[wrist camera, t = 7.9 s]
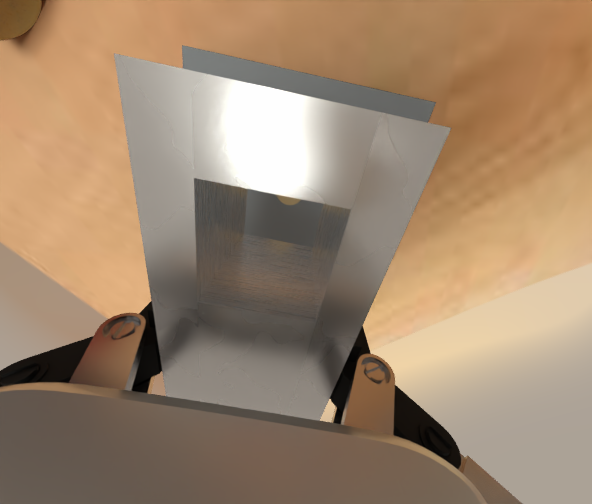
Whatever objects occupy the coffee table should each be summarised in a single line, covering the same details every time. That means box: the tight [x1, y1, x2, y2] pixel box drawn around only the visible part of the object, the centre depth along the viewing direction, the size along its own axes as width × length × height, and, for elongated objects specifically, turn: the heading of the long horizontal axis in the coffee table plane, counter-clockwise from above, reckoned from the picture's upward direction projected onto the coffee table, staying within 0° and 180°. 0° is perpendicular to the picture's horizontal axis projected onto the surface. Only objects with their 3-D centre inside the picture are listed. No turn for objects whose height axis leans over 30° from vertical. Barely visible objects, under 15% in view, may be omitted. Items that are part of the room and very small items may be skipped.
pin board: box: [182, 45, 436, 247], centre depth 18 cm, size 16×22×5 cm
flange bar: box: [114, 54, 451, 421], centre depth 10 cm, size 16×6×5 cm, turn 169°
